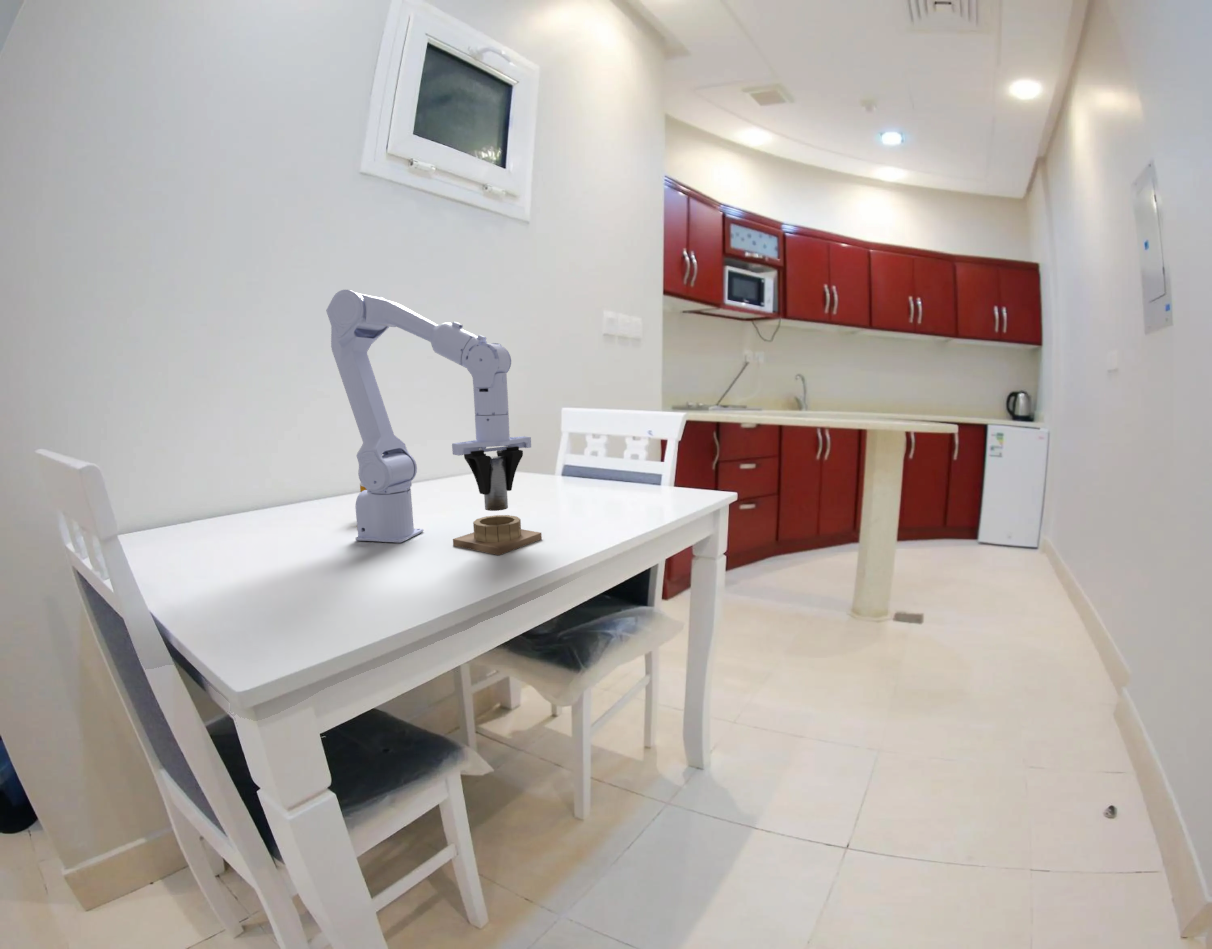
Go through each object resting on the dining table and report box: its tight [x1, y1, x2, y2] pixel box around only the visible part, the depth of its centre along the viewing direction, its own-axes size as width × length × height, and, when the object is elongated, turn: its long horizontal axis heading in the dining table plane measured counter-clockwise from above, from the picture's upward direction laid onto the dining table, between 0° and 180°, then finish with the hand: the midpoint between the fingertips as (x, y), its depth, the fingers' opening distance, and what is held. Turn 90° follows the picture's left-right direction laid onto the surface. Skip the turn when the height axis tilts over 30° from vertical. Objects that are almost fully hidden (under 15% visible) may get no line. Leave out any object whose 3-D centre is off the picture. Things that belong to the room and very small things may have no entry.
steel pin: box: [483, 456, 509, 512], centre depth 99 cm, size 4×4×9 cm
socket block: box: [452, 514, 543, 556], centre depth 100 cm, size 11×11×4 cm
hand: (495, 491), depth 99 cm, fingers closed on steel pin, 4 cm apart
